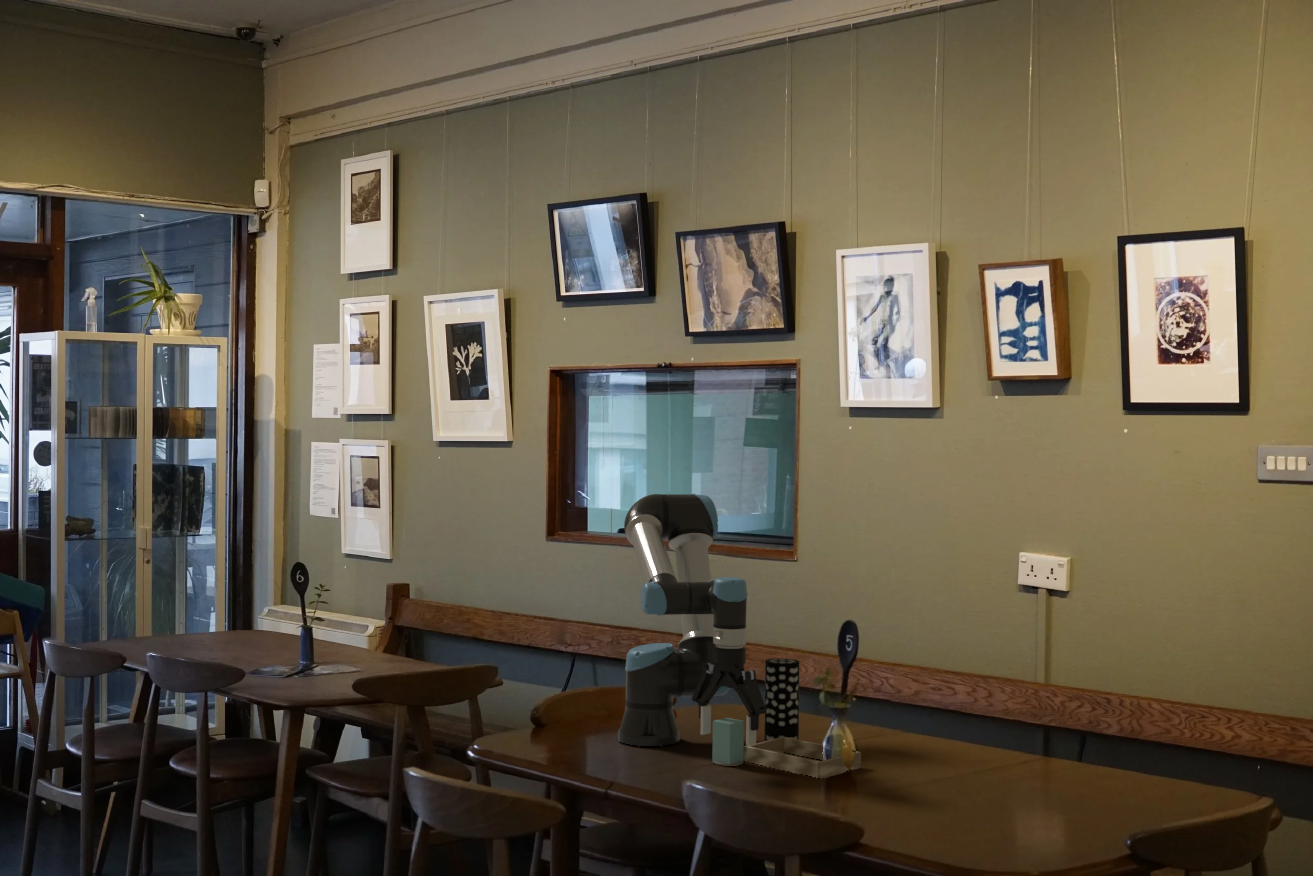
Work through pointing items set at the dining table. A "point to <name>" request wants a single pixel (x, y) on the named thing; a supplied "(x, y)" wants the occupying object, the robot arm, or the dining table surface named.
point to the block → (728, 740)
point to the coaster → (728, 764)
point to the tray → (773, 757)
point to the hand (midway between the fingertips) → (727, 739)
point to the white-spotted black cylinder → (781, 698)
